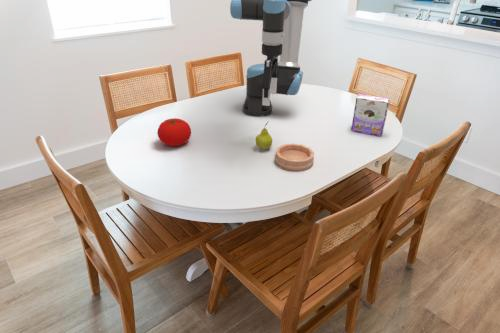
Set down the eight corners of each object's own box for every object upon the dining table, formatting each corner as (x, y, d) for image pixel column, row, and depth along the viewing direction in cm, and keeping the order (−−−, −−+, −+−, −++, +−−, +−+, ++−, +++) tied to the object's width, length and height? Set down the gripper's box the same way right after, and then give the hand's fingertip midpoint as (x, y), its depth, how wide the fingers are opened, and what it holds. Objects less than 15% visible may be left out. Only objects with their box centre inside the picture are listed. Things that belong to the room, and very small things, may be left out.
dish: (271, 167, 142) (272, 158, 140) (278, 150, 155) (279, 141, 153) (310, 173, 139) (312, 164, 137) (315, 155, 152) (316, 146, 150)
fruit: (259, 153, 152) (260, 126, 146) (252, 146, 157) (253, 120, 151) (274, 150, 154) (276, 124, 148) (267, 143, 160) (268, 117, 154)
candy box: (383, 132, 172) (390, 98, 164) (381, 137, 167) (388, 102, 159) (352, 126, 177) (358, 93, 168) (350, 131, 172) (356, 97, 164)
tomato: (180, 133, 167) (178, 111, 161) (198, 143, 159) (196, 120, 154) (152, 143, 158) (149, 120, 153) (169, 154, 150) (167, 130, 145)
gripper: (276, 51, 124) (272, 111, 135) (287, 37, 145) (284, 90, 156) (254, 50, 125) (252, 109, 136) (268, 35, 146) (266, 88, 157)
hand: (269, 99), depth 146 cm, fingers open, 13 cm apart
